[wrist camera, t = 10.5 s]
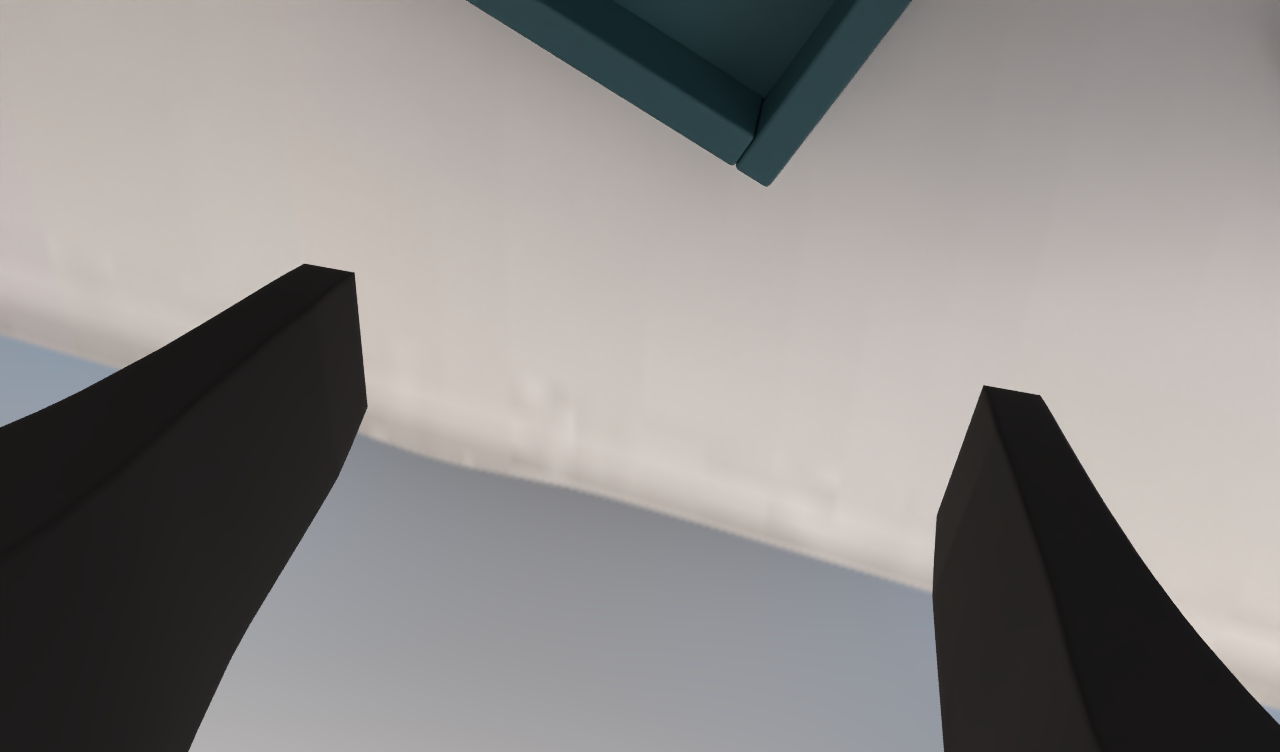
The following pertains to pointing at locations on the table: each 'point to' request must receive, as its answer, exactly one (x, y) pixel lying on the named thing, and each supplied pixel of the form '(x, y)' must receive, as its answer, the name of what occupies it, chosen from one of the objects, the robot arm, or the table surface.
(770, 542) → the table surface
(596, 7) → the tray
